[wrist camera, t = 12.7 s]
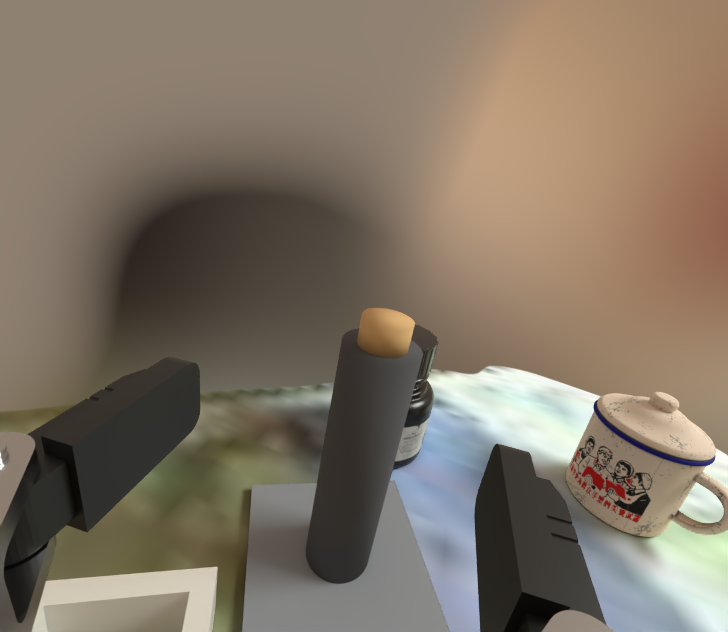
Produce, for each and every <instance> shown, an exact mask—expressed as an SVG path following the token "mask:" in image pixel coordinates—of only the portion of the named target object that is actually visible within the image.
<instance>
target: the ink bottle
mask: <svg viewBox="0 0 728 632" xmlns="http://www.w3.org/2000/svg"><path fill="white" fill-rule="evenodd" d="M411 340H412V341H414V342H415V343H416V344H417V345H418V346H419V347H420V348H421V350H422V352H423V357H422V360H421V364H420V368H419V372H418V376H417V379H416V383H415V387H414V391H413V394H412V398H411V402H410V406H409V410H408V413H407V417H406V421H405V425H404V428H403V432H402V436H401V440H400V444H399V447H398V451H397V455H396V459H395V462H394V466H393V468H399V467H403V466H406V465H408V464H409V463H411V462H412V461H413V460H414V459H415V458H416V457H417V455H418V454H419V451H420V448H421V445H422V442H423V438H424V435H425V431H426V428H427V424H428V421H429V417H430V414H431V410H432V406H433V402H434V394H433V390H432V387H431V385H430V384H429V382H428V381H427V379H428V377H429V372H431V368H432V364H433V361H434V357H435V353H436V350H437V346H438V341H437V337H436V336H435V335H433V334H432V333H431V332H430V331H429V330H427V329H425V328H423V327H421V326H419V325H416V324H415V326H414V330H413V334H412V338H411Z"/></svg>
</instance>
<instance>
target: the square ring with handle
mask: <svg viewBox="0 0 728 632" xmlns="http://www.w3.org/2000/svg"><path fill="white" fill-rule="evenodd" d="M217 568H218V567H208V568H196V569H184V570H172V571H160V572H148V573H136V574H124V575H112V576H100V577H88V578H76V579H64V580H52V581H46V583H45V586H44V590H43V593H42V597H41V600H40V604H39V607H38V611H37V614H36V618H35V621H34V625H33V628H32V632H212V629H213V622H214V614H215V604H216V586H217Z"/></svg>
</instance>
